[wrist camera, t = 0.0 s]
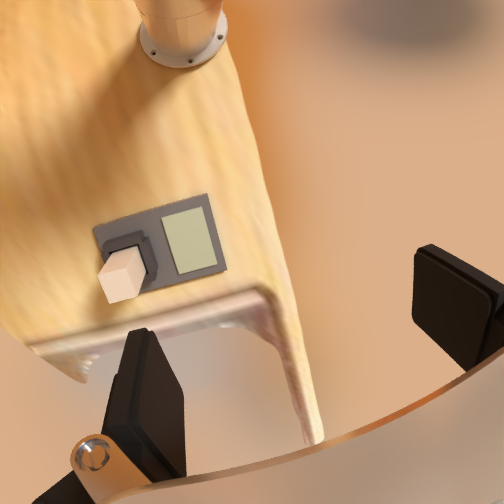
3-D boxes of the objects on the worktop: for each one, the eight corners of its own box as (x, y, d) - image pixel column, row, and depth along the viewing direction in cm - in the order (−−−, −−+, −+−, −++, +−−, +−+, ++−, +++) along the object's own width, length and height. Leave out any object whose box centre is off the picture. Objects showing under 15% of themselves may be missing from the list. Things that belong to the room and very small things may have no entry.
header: (94, 226, 43) (87, 233, 39) (207, 193, 44) (207, 197, 41) (120, 295, 47) (116, 305, 44) (226, 267, 49) (229, 276, 45)
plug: (115, 248, 43) (97, 275, 34) (139, 241, 44) (125, 267, 34) (124, 272, 45) (109, 303, 36) (147, 265, 45) (137, 296, 36)
